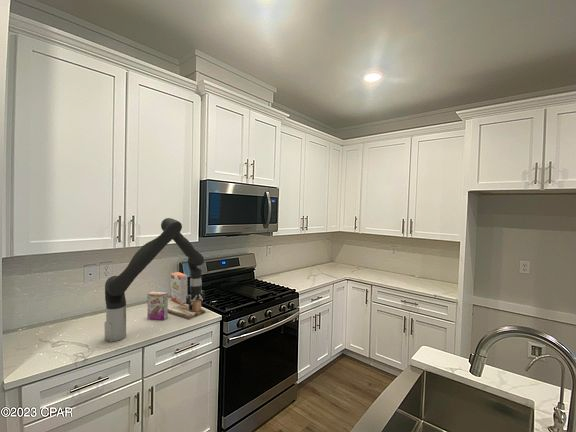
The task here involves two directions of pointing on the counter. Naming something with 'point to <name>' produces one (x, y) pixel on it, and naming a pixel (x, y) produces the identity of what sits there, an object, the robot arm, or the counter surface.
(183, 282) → the cracker box
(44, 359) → the counter surface
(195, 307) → the tan block
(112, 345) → the counter surface
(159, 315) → the candy bar box
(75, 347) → the counter surface
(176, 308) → the board
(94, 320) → the counter surface
